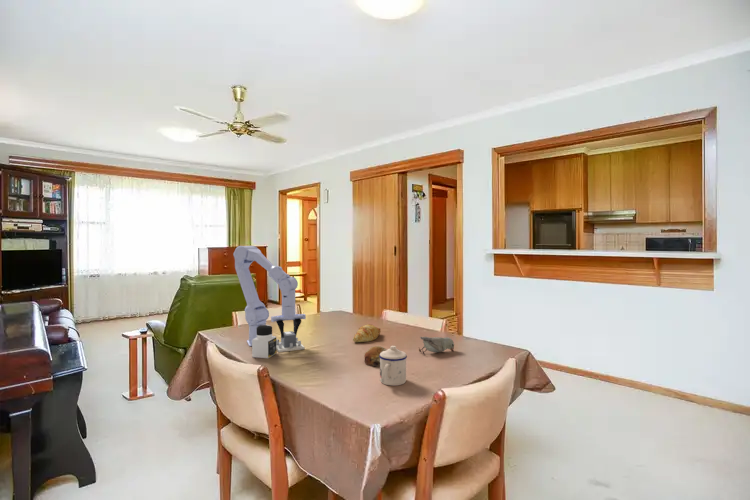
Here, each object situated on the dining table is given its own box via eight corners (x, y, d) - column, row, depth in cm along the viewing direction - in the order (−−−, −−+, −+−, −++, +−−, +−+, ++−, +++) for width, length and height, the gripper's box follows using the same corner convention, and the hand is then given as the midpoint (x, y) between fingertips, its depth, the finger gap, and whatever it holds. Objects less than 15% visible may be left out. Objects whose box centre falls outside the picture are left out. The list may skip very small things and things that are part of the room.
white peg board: (273, 344, 173) (273, 338, 173) (297, 342, 178) (297, 336, 178) (278, 352, 162) (278, 345, 162) (304, 349, 167) (304, 342, 167)
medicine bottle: (268, 358, 154) (268, 328, 153) (251, 357, 155) (251, 327, 155) (276, 353, 161) (276, 324, 160) (260, 352, 162) (260, 323, 162)
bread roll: (391, 370, 151) (394, 349, 154) (384, 366, 142) (387, 344, 145) (367, 367, 155) (370, 347, 158) (359, 363, 146) (362, 342, 149)
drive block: (281, 343, 172) (281, 332, 172) (292, 342, 175) (292, 330, 174) (284, 347, 166) (284, 335, 166) (296, 346, 168) (296, 334, 168)
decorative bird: (457, 352, 163) (457, 334, 163) (423, 357, 157) (423, 338, 157) (449, 349, 168) (450, 331, 168) (416, 353, 162) (416, 335, 162)
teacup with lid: (385, 374, 136) (385, 341, 136) (410, 378, 133) (410, 344, 132) (371, 387, 125) (371, 350, 125) (398, 391, 121) (398, 354, 121)
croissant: (359, 352, 175) (366, 338, 172) (342, 339, 179) (349, 324, 177) (383, 340, 193) (390, 327, 190) (368, 329, 197) (374, 316, 195)
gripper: (273, 308, 163) (273, 340, 163) (307, 305, 169) (307, 337, 169) (270, 305, 169) (270, 336, 170) (303, 303, 175) (303, 333, 176)
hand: (288, 336), depth 170 cm, fingers closed on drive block, 5 cm apart
